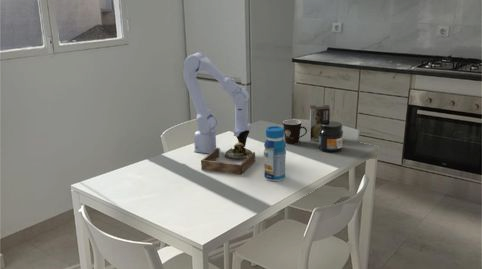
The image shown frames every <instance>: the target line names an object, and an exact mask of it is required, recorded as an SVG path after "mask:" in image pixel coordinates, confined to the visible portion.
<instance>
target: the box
mask: <svg viewBox="0 0 482 269" xmlns="http://www.w3.org/2000/svg"><path fill="white" fill-rule="evenodd" d="M218 158H220V149H219V148H217V149H215V150H214V151H213V152H211V153H208V155H206V156H205V157H204V158H203V159H201V160H200V162H201V163H200V166H201V170H202V171H210V172H217V173H222V174H223V173H225V174H230V175H231V174H233V175H239V176H242V175H243V174H244V173H245V172H246V171H247V170H249V168H251V167H252V165H253V164H254V163H255V162H256V152H255V151H252V154H251V155H250V156H248V157H246V158H245V159H244V160H243V161H242V162H241V163H240V164H239V163H238V164H237V163H231V162H223V161H216V160H218Z"/></svg>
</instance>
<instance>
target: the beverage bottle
mask: <svg viewBox="0 0 482 269" xmlns="http://www.w3.org/2000/svg"><path fill="white" fill-rule="evenodd" d="M265 137H266V140H265V141H264V143H263V144H264V145H263V146H264V150H263V156H264V159H263V160H264V161H263V162H264V165H263V166H264V173H263V174H264V175H263V176H264V179H265V180H267V181H270V182H279V181H283V180H284V179H285V178H286V155H287V150H286V146H287V145H286V144H287V143H285V139H284V138H285V136H284V127H282V126H278V125H271V126H268V127H266V128H265Z"/></svg>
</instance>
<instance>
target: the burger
mask: <svg viewBox="0 0 482 269" xmlns="http://www.w3.org/2000/svg"><path fill="white" fill-rule="evenodd" d="M252 153H253V151H252V150H250V149H247V148H246V147H244V144H243V143H240V142H236V143H235V144H234V145H233V148H232V147H230V148H229V149H228V150H226V151H225V158H226V157H228V158H230V159H247V158H248V157H249V156H250V155H251V154H252Z"/></svg>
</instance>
